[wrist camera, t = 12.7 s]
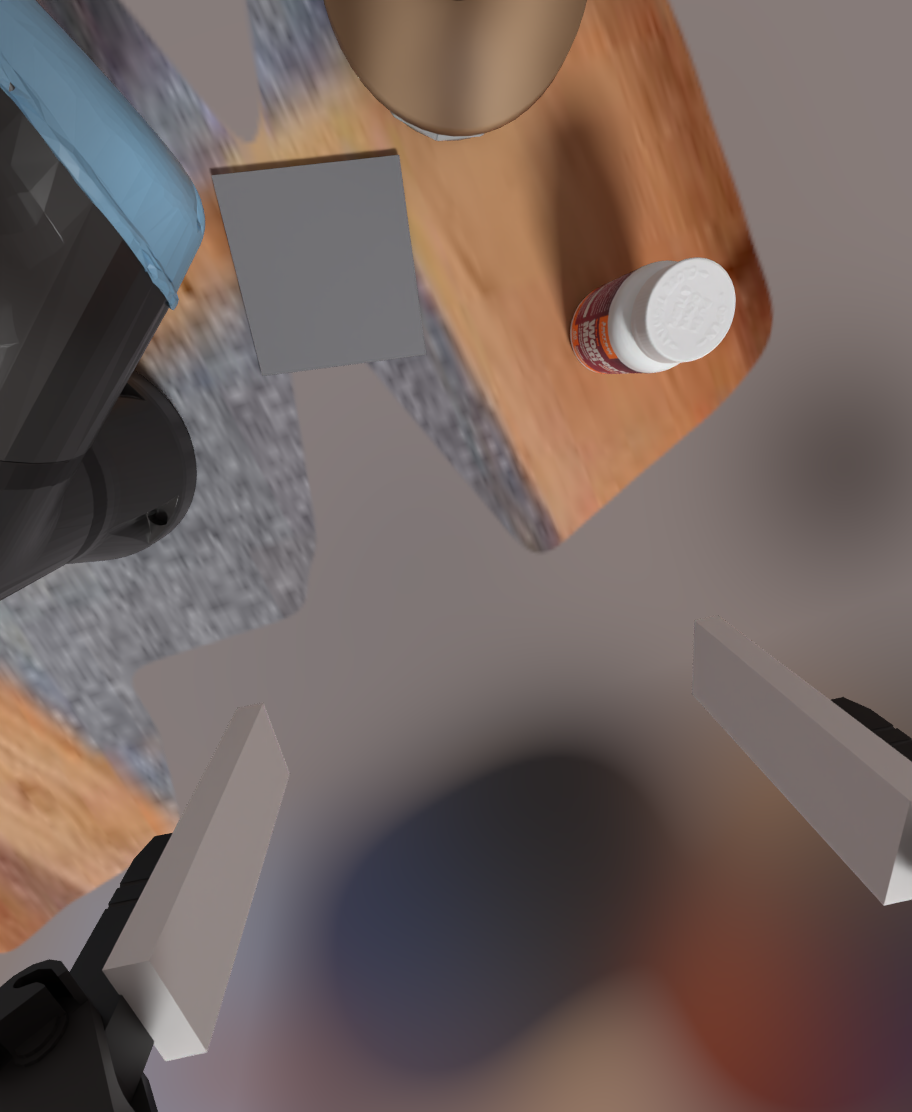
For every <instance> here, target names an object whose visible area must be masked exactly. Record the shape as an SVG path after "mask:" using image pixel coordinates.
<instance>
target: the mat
mask: <svg viewBox="0 0 912 1112" xmlns="http://www.w3.org/2000/svg"><path fill="white" fill-rule="evenodd" d="M212 179H213V183H214V187H215V191H216V195H217V199H218V203H219V207H220V211H221V215H222V219H223V223H224V227H225V230H226V234H227V238H228V242H229V246H230V250H231V254H232V258H233V262H234V266H235V270H236V274H237V278H238V282H239V286H240V290H241V294H242V298H243V302H244V305H245V309H246V313H247V317H248V321H249V325H250V329H251V333H252V337H253V341H254V345H255V349H256V353H257V357H258V361H259V365H260V369H261V373H262V376H267V375H275V374H282V373H290V372H297V371H305V370H313V369H320V368H327V367H336V366H344V365H351V364H358V363H367V362H374V361H382V360H390V359H397V358H405V357H412V356H420V355H426V351H425V343H424V336H423V329H422V321H421V314H420V306H419V299H418V292H417V284H416V277H415V269H414V262H413V254H412V247H411V240H410V232H409V225H408V217H407V210H406V203H405V195H404V188H403V180H402V173H401V166H400V158H399V155H393V156H384V157H375V158H366V159H357V160H348V161H339V162H329V163H320V164H311V165H302V166H293V167H284V168H275V169H266V170H257V171H248V172H239V173H229V174H220V175H212Z"/></svg>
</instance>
